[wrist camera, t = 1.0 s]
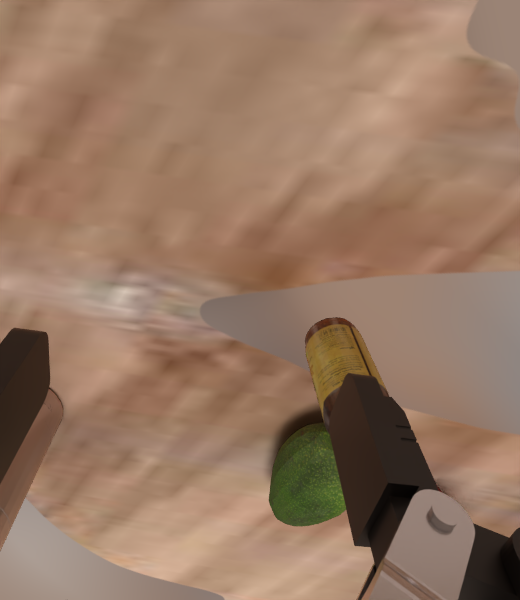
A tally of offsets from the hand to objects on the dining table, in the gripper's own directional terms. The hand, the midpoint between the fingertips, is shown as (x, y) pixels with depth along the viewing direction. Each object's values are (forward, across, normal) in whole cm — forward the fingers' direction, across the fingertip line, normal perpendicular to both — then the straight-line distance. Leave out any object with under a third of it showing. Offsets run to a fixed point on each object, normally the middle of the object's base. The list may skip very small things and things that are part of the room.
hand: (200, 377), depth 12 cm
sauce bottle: (+30, +15, -18) cm, 38 cm away
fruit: (+30, +16, -35) cm, 49 cm away
